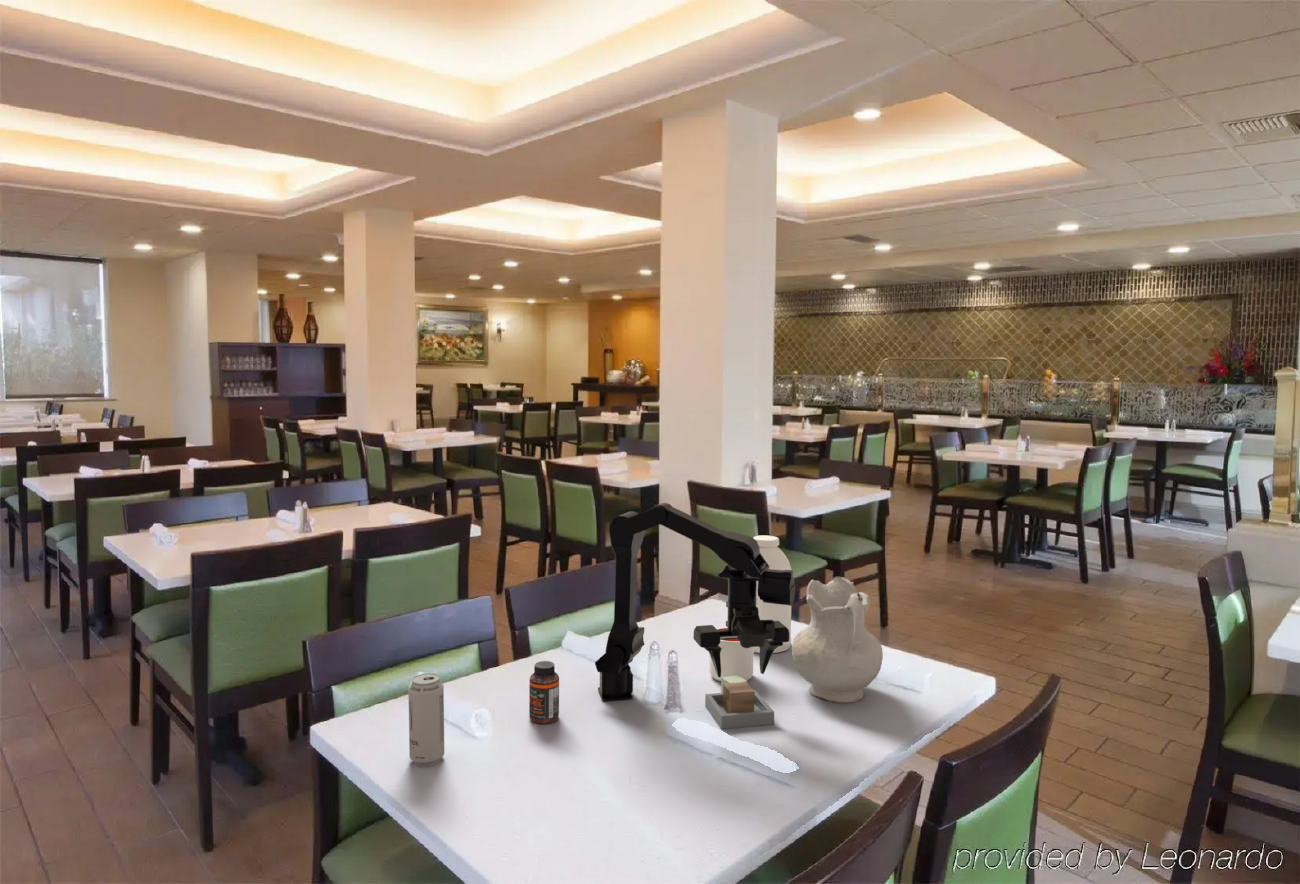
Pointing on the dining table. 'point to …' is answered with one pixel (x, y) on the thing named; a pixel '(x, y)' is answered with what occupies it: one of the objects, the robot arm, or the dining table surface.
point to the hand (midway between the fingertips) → (740, 675)
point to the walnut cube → (738, 697)
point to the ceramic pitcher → (837, 643)
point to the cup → (734, 660)
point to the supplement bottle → (544, 693)
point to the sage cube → (731, 680)
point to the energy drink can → (426, 719)
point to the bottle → (766, 610)
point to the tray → (742, 719)
